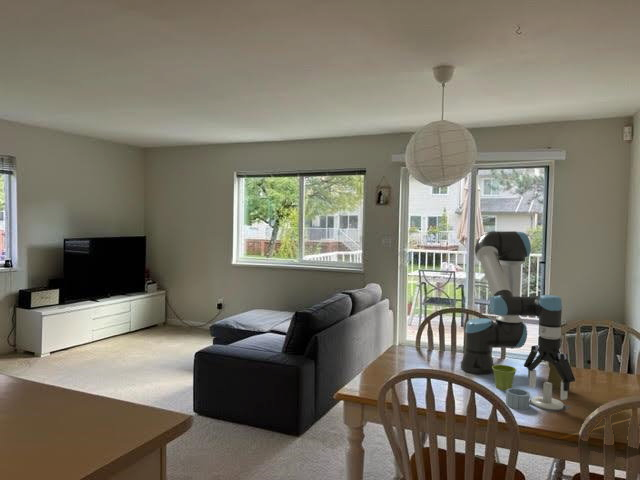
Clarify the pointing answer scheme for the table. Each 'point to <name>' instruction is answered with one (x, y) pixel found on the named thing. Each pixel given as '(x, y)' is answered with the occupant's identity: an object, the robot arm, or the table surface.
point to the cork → (554, 377)
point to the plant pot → (503, 376)
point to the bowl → (518, 398)
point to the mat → (552, 410)
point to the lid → (547, 399)
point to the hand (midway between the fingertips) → (547, 392)
